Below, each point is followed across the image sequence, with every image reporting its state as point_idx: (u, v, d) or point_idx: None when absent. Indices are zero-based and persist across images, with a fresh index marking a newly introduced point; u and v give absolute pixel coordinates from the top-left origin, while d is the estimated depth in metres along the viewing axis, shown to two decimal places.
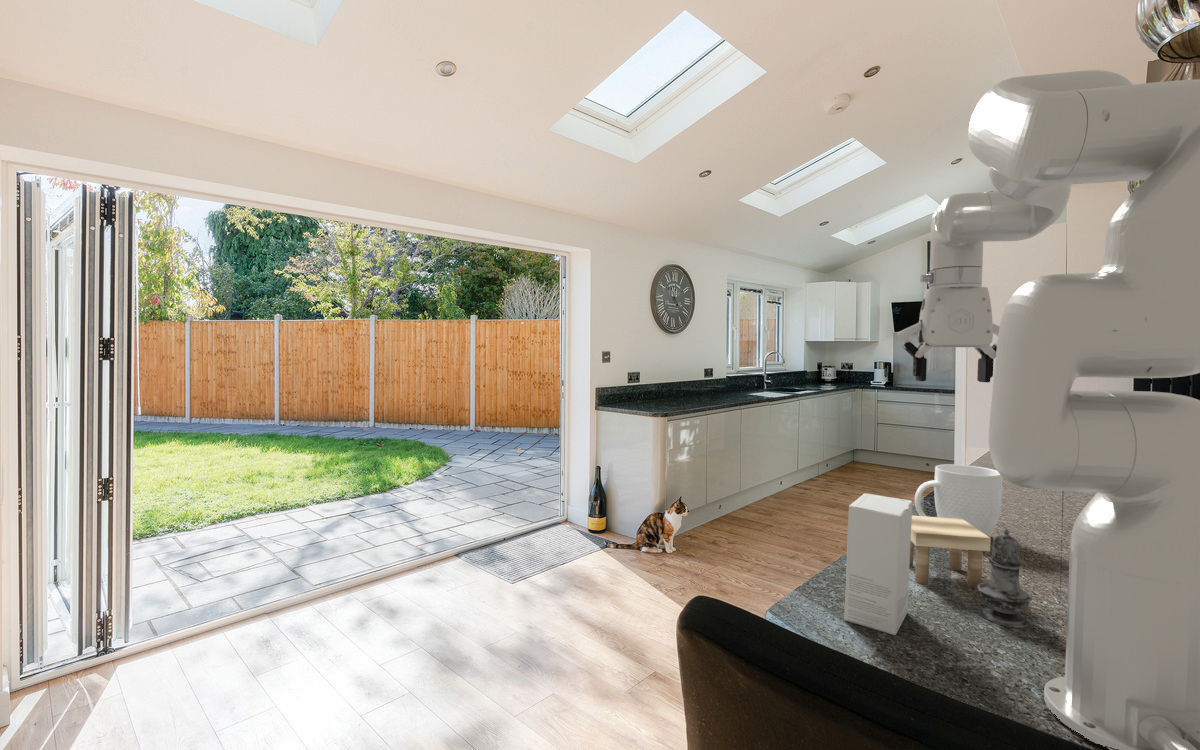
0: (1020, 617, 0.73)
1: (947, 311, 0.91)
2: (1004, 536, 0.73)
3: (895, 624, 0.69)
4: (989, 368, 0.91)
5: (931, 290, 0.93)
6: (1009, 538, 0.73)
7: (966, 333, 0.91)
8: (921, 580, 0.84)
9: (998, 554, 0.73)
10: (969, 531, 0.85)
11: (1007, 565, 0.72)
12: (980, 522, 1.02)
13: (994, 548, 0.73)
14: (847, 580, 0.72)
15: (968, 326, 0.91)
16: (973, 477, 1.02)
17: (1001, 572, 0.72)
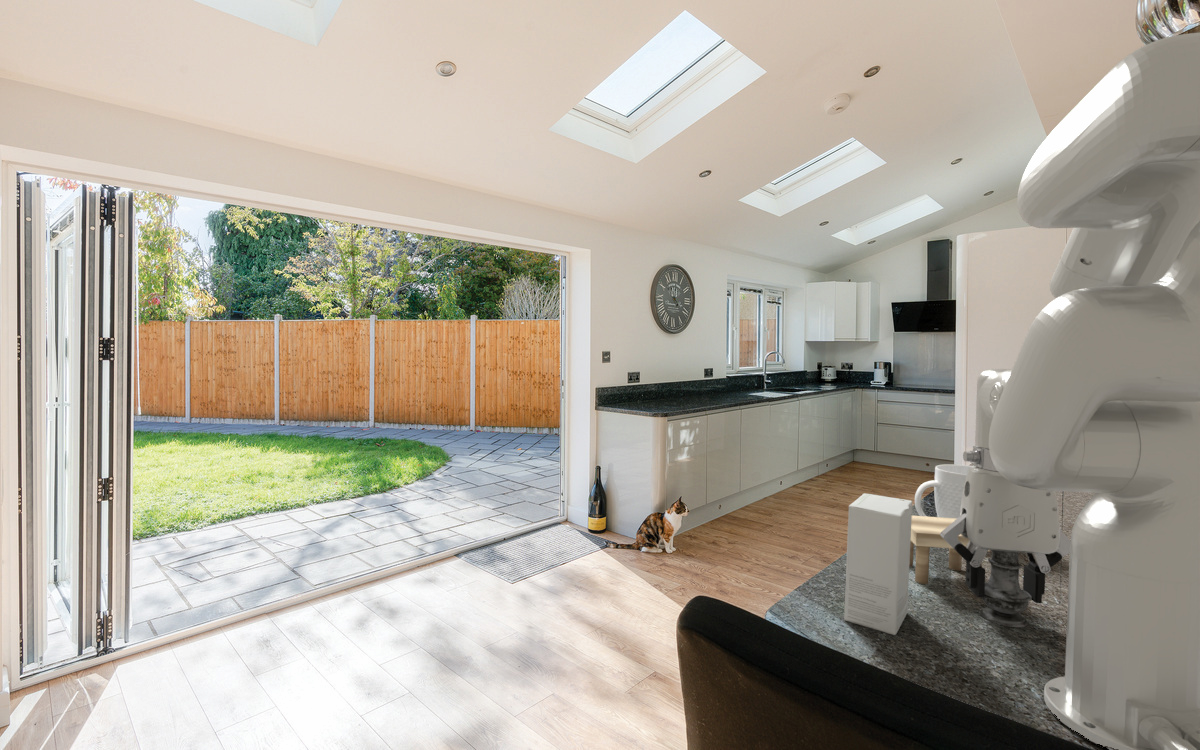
0: (1020, 617, 0.73)
1: (1000, 506, 0.71)
2: None
3: (895, 624, 0.69)
4: (1040, 586, 0.71)
5: (978, 476, 0.72)
6: None
7: (1025, 536, 0.70)
8: (921, 580, 0.84)
9: (998, 554, 0.73)
10: None
11: (1006, 564, 0.72)
12: None
13: None
14: (847, 580, 0.72)
15: (1028, 527, 0.70)
16: None
17: (1001, 572, 0.73)
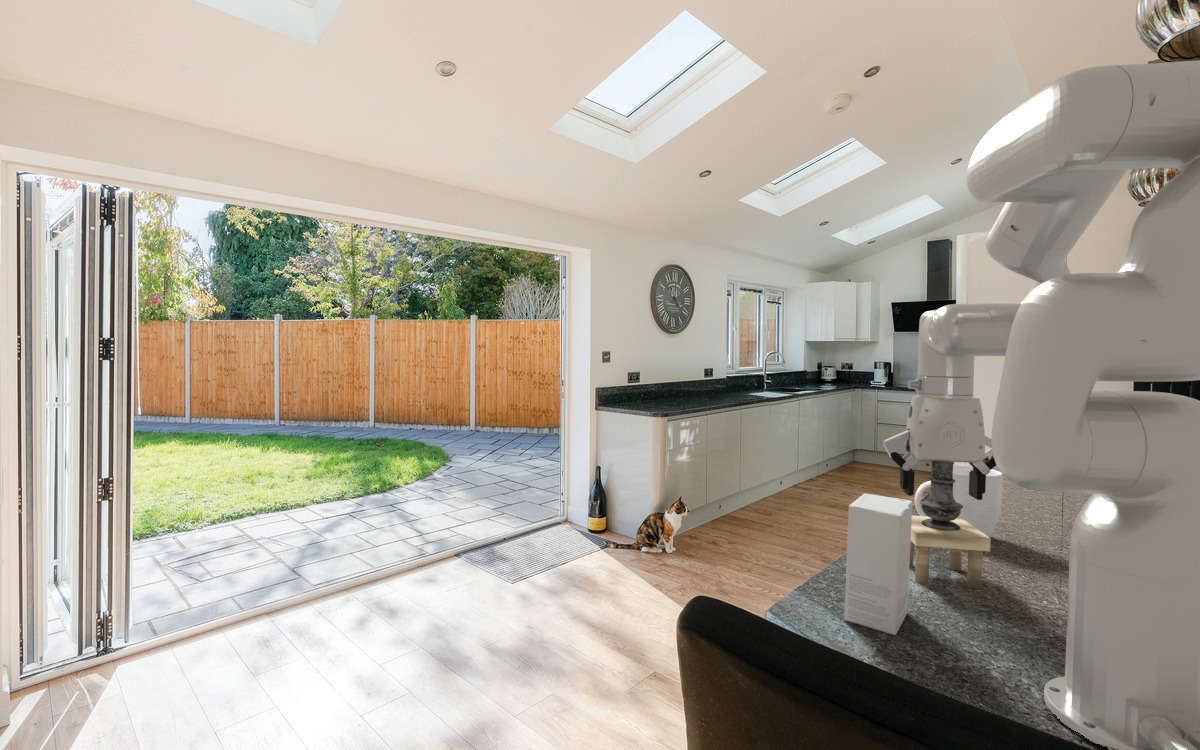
0: (954, 524, 0.86)
1: (936, 423, 0.85)
2: None
3: (895, 624, 0.69)
4: (981, 485, 0.85)
5: (919, 399, 0.86)
6: None
7: (956, 448, 0.84)
8: (921, 580, 0.84)
9: (935, 471, 0.87)
10: (969, 531, 0.85)
11: (942, 480, 0.86)
12: (980, 522, 1.02)
13: (933, 466, 0.87)
14: (847, 580, 0.72)
15: (958, 440, 0.84)
16: None
17: (938, 486, 0.86)
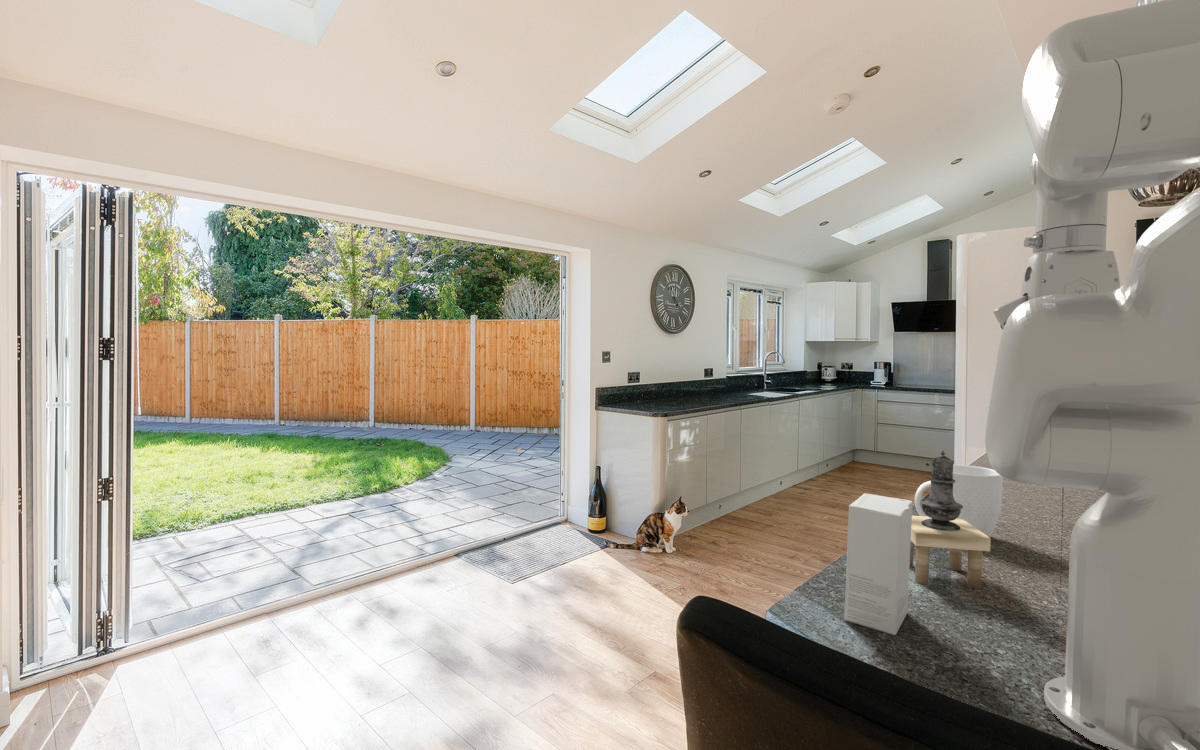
0: (954, 524, 0.86)
1: (1063, 281, 0.74)
2: (941, 456, 0.87)
3: (895, 624, 0.69)
4: None
5: (1041, 256, 0.75)
6: (944, 457, 0.86)
7: None
8: (921, 580, 0.84)
9: (935, 471, 0.87)
10: (969, 531, 0.85)
11: (942, 479, 0.86)
12: (980, 522, 1.02)
13: (933, 466, 0.87)
14: (847, 580, 0.72)
15: None
16: (973, 477, 1.02)
17: (938, 486, 0.86)
